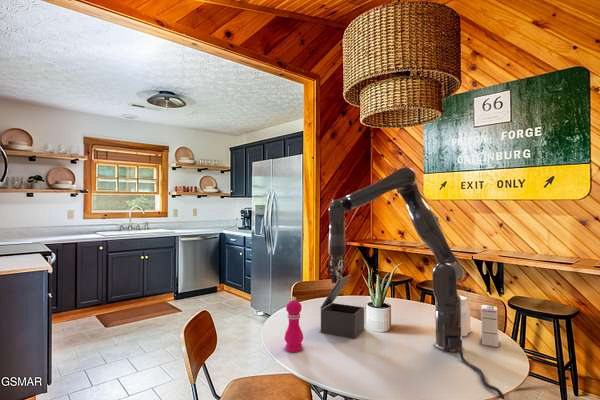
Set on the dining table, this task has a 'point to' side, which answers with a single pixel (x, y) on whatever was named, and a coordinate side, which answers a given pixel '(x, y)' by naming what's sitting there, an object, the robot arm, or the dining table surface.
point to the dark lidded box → (342, 320)
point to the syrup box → (489, 325)
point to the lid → (336, 290)
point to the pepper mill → (293, 327)
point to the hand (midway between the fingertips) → (336, 281)
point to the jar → (465, 317)
